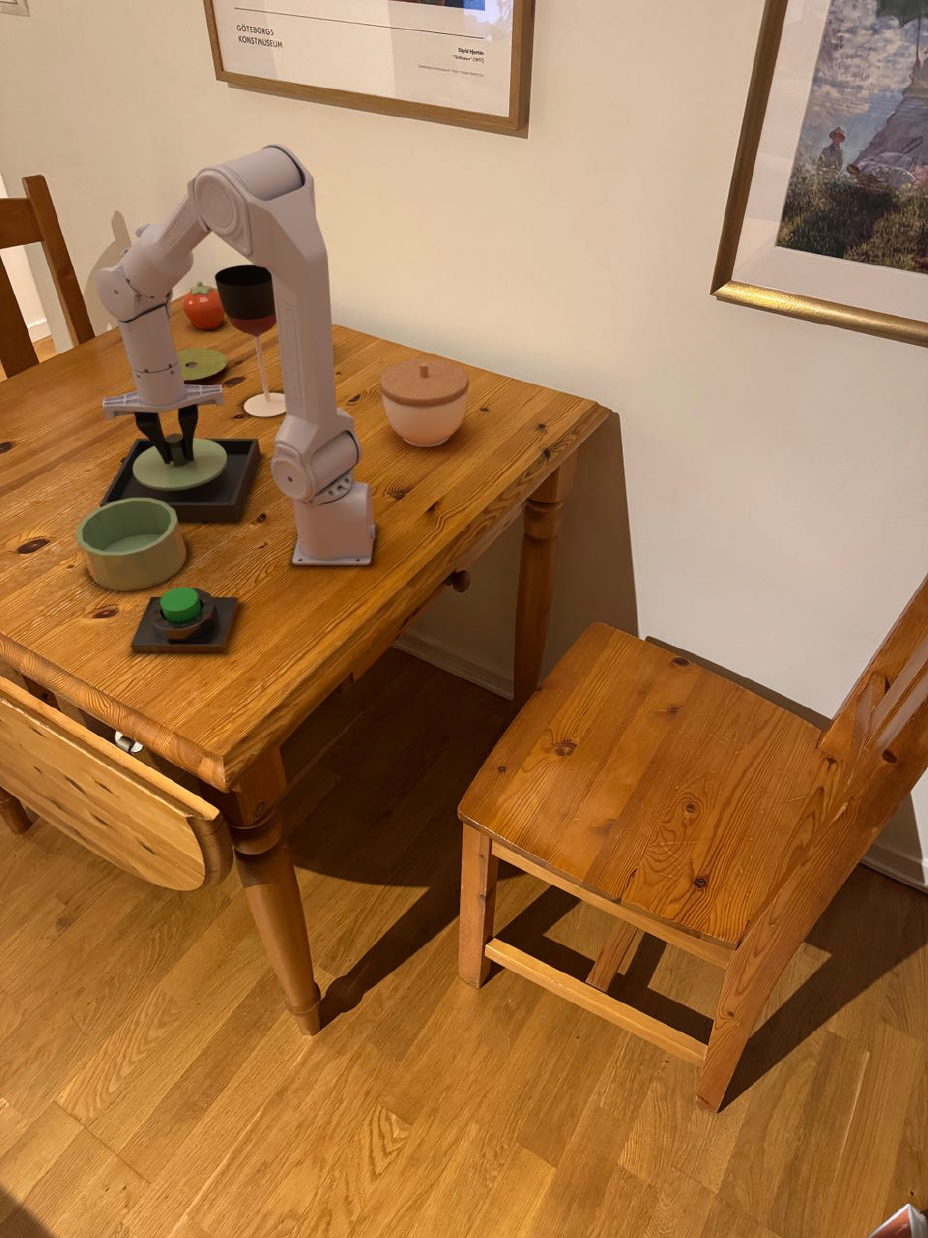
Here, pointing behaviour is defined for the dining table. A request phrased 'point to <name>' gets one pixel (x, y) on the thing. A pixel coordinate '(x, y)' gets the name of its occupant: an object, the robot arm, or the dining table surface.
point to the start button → (180, 604)
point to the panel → (187, 627)
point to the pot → (131, 543)
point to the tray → (201, 502)
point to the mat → (200, 363)
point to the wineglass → (251, 321)
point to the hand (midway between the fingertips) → (179, 458)
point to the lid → (180, 464)
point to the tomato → (203, 306)
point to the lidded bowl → (424, 399)
